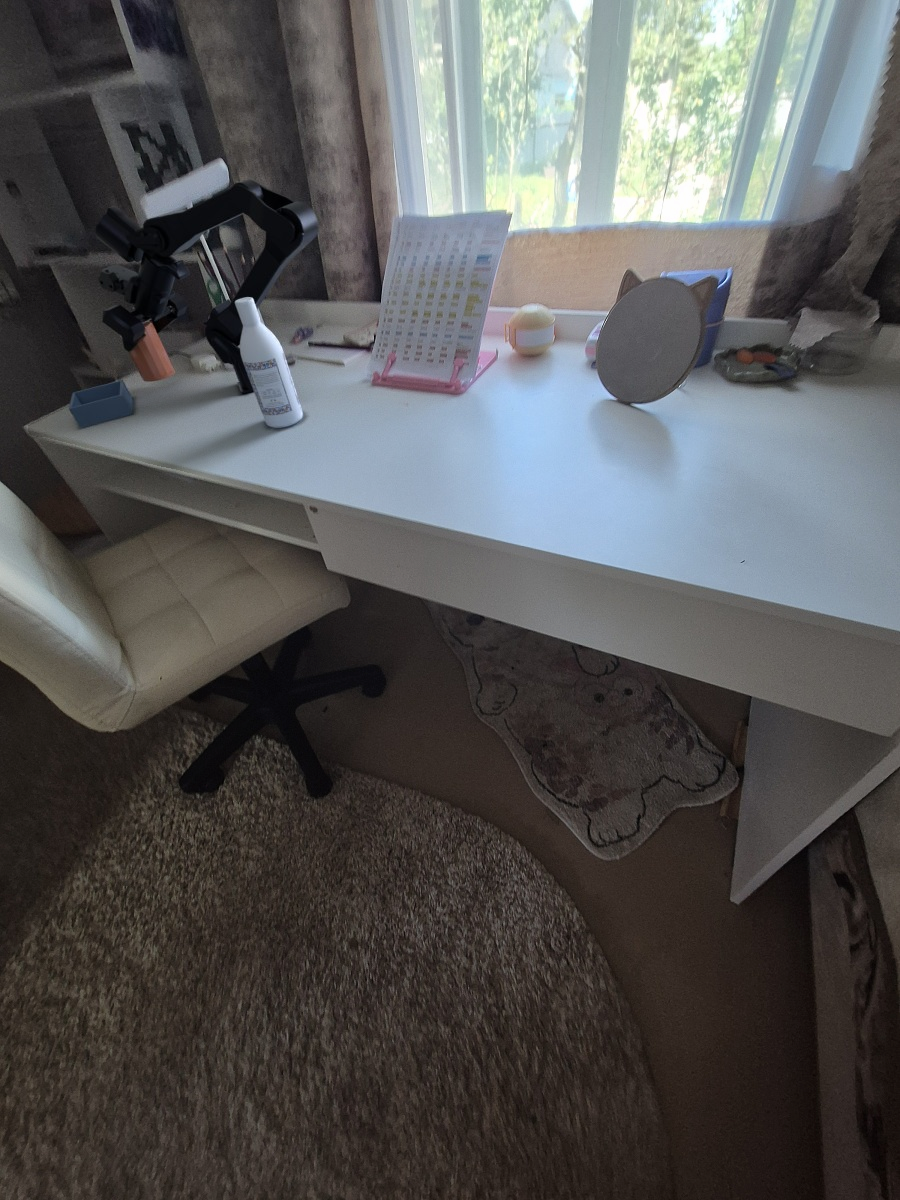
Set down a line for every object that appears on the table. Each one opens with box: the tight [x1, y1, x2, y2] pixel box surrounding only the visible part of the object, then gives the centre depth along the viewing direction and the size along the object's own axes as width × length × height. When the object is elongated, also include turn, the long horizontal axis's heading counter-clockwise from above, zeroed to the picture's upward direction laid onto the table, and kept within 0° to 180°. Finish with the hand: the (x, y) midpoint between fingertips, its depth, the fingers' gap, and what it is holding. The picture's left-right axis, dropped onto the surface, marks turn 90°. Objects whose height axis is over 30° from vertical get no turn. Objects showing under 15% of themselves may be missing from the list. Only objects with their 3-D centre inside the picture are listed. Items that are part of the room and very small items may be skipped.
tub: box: [68, 379, 134, 429], centre depth 108 cm, size 10×10×4 cm
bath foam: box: [235, 297, 304, 429], centre depth 90 cm, size 7×7×20 cm
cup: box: [119, 321, 176, 383], centre depth 111 cm, size 7×7×10 cm
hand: (138, 343), depth 111 cm, fingers closed on cup, 7 cm apart
